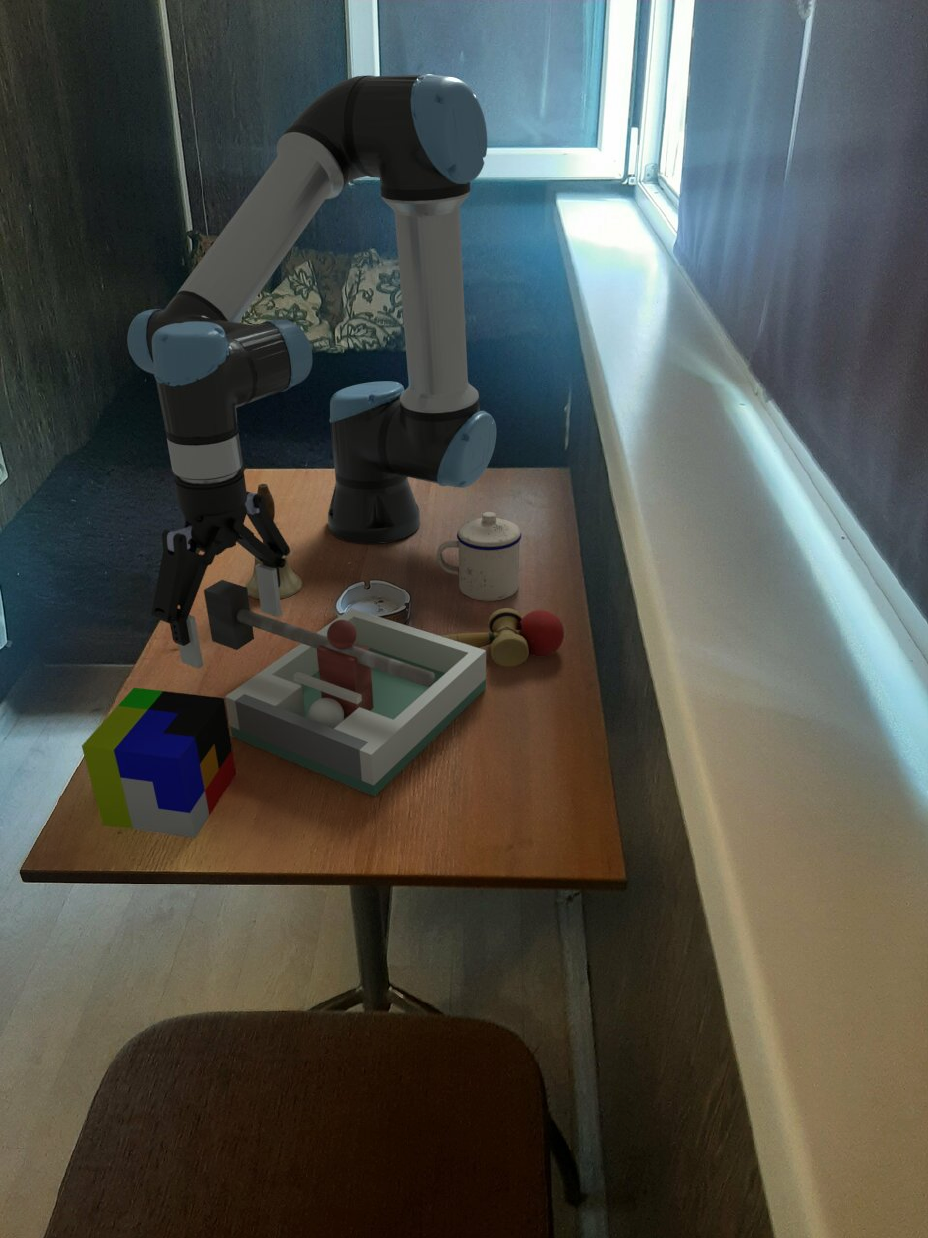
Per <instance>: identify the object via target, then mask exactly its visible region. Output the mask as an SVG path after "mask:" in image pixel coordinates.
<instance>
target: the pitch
mask: <svg viewBox="0 0 928 1238" xmlns="http://www.w3.org/2000/svg"><path fill="white" fill-rule="evenodd" d="M337 620H346V621H349V622H350V623H352V624H353V626H354V627H355V629H356V633H357V636H356V640H355V642H354V643H355V644H358V645H361V646H364V647H367V648H370V652H373V653H376V654H379V655H382V656H385V657H388V658H391V659H394V660H397V661H400V662H403V663H406V664H409V665H412V666H415V667H418V668H421V669H424V670H427V671H430V672H433V673H434V674H435V679H434V682H433V684H432V685H431V686H430V687H427V686H424V685H421V684H418V683H415V682H412V681H409V680H406V679H404V678H401V677H398V676H395V675H392V674H389V673H386V672H383V671H380V670H377V669H375V668H372V667H371V677H372V692H373V706H374V708H373V709H372V710H370V711H368V710H366V709H363V708H360V707H359V708H358V709H357V710H355V711H354V712H353V713H352V714H351V715H349V716H348V717H345V716H344V720H343V721H342V722H341V723H340V724H339V725H337V726H336V727H335V728H334V729H333V728H331V727H328V726H325V725H323V724H320V723H318V722H315V721H313V720H310V719H308V711H309V708H310V706H311V705H312V704H313V703H314V702H315V701H316V700H318V699H321V698H322V696H321V691H322V692H325V693H328V694H330V695H333V696H336V697H339V698H341V699H344V700H347V701H349V702H352V703H355V704H358V703H360V702H361V701H362V697H361V694H358V693H356V692H353V691H350V690H347V689H345V688H342V687H339V686H336V685H333V684H331V683H328V682H325V681H322V680H320V677H319V667H318V657H317V649H316V648H314V647H311V646H308V645H305V644H302V643H299V644H298V645H297V646H296V647H294V648H293V649H291V650H289V651H288V652H287V653H285V654H284V655H283V656H281V657H280V658H278V659H277V660H276V661H274V662H273V663H271V664H269V665H268V666H267V667H266V668H264V669H262V670H261V671H260V672H258V673H257V674H256V675H254V676H253V677H251V678H250V679H248V680H247V681H245V682H244V683H243V684H241V685H240V686H238V687H237V688H236V689H234V690H232V691H231V692H229V693H227V694H226V695H225V696H224V701H225V707H226V714H227V720H228V726H229V729H230V730H229V732H230V738H234V739H237V740H239V741H240V742H241V741H242V742H243V743H246V744H247V745H250V746H253V747H256V748H257V749H260V750H262V751H264V752H267V753H269V754H272V755H275V756H277V757H279V758H281V759H283V760H286V761H288V762H291V763H294V764H296V765H299V766H300V767H303V768H305V769H307V770H310V771H312V772H314V771H315V772H314V773H316V774H319V775H321V776H325V777H327V778H329V779H332V780H334V781H336V782H338V783H340V784H343V785H345V786H348V787H350V788H353V789H355V790H357V791H360V792H362V793H364V794H367V795H369V796H372V797H376V796H377V795H378V794H379V793H380V792H381V791H382V790H383V789H384V788H385V787H386V786H387V785H388V784H389V783H390V782H391V781H392V780H393V779H394V778H396V777H397V776H398V775H399V774H400V772H402V771H403V770H404V769H405V768H406V767H407V766H408V765H409V764H410V763H411V762H412V761H413V760H414V759H415V758H416V757H417V756H418V755H419V754H420V753H422V752H423V750H424V749H425V748H427V747H428V745H430V743H432V742H433V741H434V740H435V739H436V738H437V737H438V736H439V735H440V734H441V733H442V732H443V731H444V730H445V729H446V728H447V727H448V726H449V725H450V724H451V723H452V722H453V721H455V720H456V719H457V717H458V716H460V715H461V713H463V712H464V711H465V709H467V708H468V707H469V706H470V705H471V704H472V703H473V702H474V701H475V700H476V699H477V698H478V697H479V696H480V695H481V694H482V693H483V692H484V691H486V690H487V650H485V649H483V648H481V647H480V648H477V647H473V646H470V645H467V644H464V643H461V642H457V641H454V640H451V639H448V638H445V637H441V636H438V634H435V633H433V632H428V631H425V630H422V629H418V628H415V627H413V626H409V625H406V624H404V623H400V622H396V621H393V620H390V619H386V618H384V617H380V616H377V615H374V614H371V613H368V612H365V611H362V610H358V609H355V608H350V609H348V610H347V611H345V612H343V614H341V615H340V616H338V617H337V618H335V619H334V620H333V621H331V622H330V623H328V624H327V625H325V626H324V627H322V628H321V629H320V630H318V631H317V632H316V633H317V634H320V635H323V636H326V637H327V631H328V628H329V627H330V625H331V624H332V623H333V622H335V621H337Z"/></svg>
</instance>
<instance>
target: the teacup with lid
mask: <svg viewBox="0 0 928 1238" xmlns="http://www.w3.org/2000/svg"><path fill="white" fill-rule="evenodd" d="M456 539H457V540H446V541H444V542H443V543H441V544H440V545H439V546H438V548H437V550H436V558H437V562H438V564H439V566H440V567H441V569H443V570H444V571H445V572H446V573H449V574H454V575H458V583H459V584H458V587H459V590H460V591H461V592H462V593H463V594H464V595H465V596H467V597H468V598H471V599H473V600H477V601H483V602H492V601H493V602H495V601H501V600H505V599H508V598H510V597H511V596H514V594H516V592H517V591H518V589H519V586H520V585H519V584H520V583H519V579H520V578H519V574H520V541H521V539H522V532H521V529H520V528H519V526H518V525H517V524H516V523H514V522H512V521H510V520H507V519H503V518H499V517H497V514H496V513H495V512H493V511H486V512H484V513H482V516H481V517H479V518H475V519H471V520H468V521H466V522H464V523H462V525H460V527H458V530H457V533H456ZM449 548H458V567H457V566H451V565H449V564H448V563H446V561H445V560H444V558H443V552H444V551H445V550H447V549H449Z"/></svg>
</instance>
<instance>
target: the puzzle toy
mask: <svg viewBox="0 0 928 1238" xmlns="http://www.w3.org/2000/svg"><path fill="white" fill-rule="evenodd" d="M229 729H230V726H229V720H228V714H227V708H226V702H225V697H218V696H208V695H202V694H193V693H192V694H191V693H183V692H175V691H167V690H158V689H150V688H143V687H142V688H141V687H140V688H139V687H133V688H132V689H131V690H130V691H129V693H128V694H126V696H124V698H123V699H122V700H121V702H119V703H118V705H117V706H116V707H115V708H114V709H113V710H112V711H111V713H109V715H108V716H107V717H106V718H105V719H104V720H103V722H101V724H100V725H99V726H98V727H97V728H96V729H95V731H94V732H93V733H92V734H91V735H90V736H89V737H88V738H87V739H86V740H85V742H83V744H81V748H82V752H83V755H84V759H85V762H86V763H85V764H86V768H87V771H88V774H89V778H90V783H91V787H92V790H93V794H94V797H95V801H96V807H97V810H98V812H99V813H98V814H99V817H100V821H101V825H102V826H109V827H113V828H114V827H115V828H122V829H129V830H136V831H143V832H150V833H156V834H163V835H164V834H165V835H170V836H171V835H173V836H178V837H185V838H191V839H196V837H197V836H198V835H199V833H200V831H201V830H202V828H203V827H204V826H205V823H206V822H207V820H208V819H209V818H210V815H211V814H212V812H213V811H214V809H215V807H216V806H217V804H218V803H219V802H220V800H221V798H222V797H223V795H224V794H225V793H226V791H227V789H228V788H229V786H230V784H231V783H232V781H233V780H234V778H235V776H236V775H237V773H236V772H237V771H236V765H235V758H234V754H233V747H232V742H231V733H230V730H229Z"/></svg>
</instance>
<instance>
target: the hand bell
mask: <svg viewBox="0 0 928 1238" xmlns="http://www.w3.org/2000/svg"><path fill="white" fill-rule="evenodd" d="M256 492H257V493H256V494H259V495H263V496H264V498H265V503H266V508H267V511H268V513H269V514H270V516H271V518H272V519H273V521H274V522H275V514H276V510H275V509H276V508H275V500H274V498H273V495H272V493H271V491H270V489H269V486H268V484H266V483H261V484H258V485H257V491H256ZM262 543H264V541H263V540H262ZM264 544H265V543H264ZM282 558H284V559H285V560H286V564H285V566H284V567H283V568H280V567H279V573H280V581H281V584H280V587H279V595H280V600H281V599H285V598H286V599H287V598H288V597H291V596H294V595H295V594H297V593H298V592H299V591H301V589H302V587H303V581H302V579H301V577H300V576H298V575H297V574H296V573H294V572H293V570H292V568H291V567H290V565H289V561H288V556H283V557H282ZM258 564H262V565H263V562H261V561H259V560H258V559H257V558H256V557H255V556H254V565H253V566H254V567H253V572H252V575H251V577H249V579H248V580H247V582H246V583H245V586H244V587H246V588H247V590H248V597H249V596H250V597H251V598H253V599H258V600H260V597H259V589H258V582H257V574H256V567H255V566H256V565H258Z"/></svg>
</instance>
